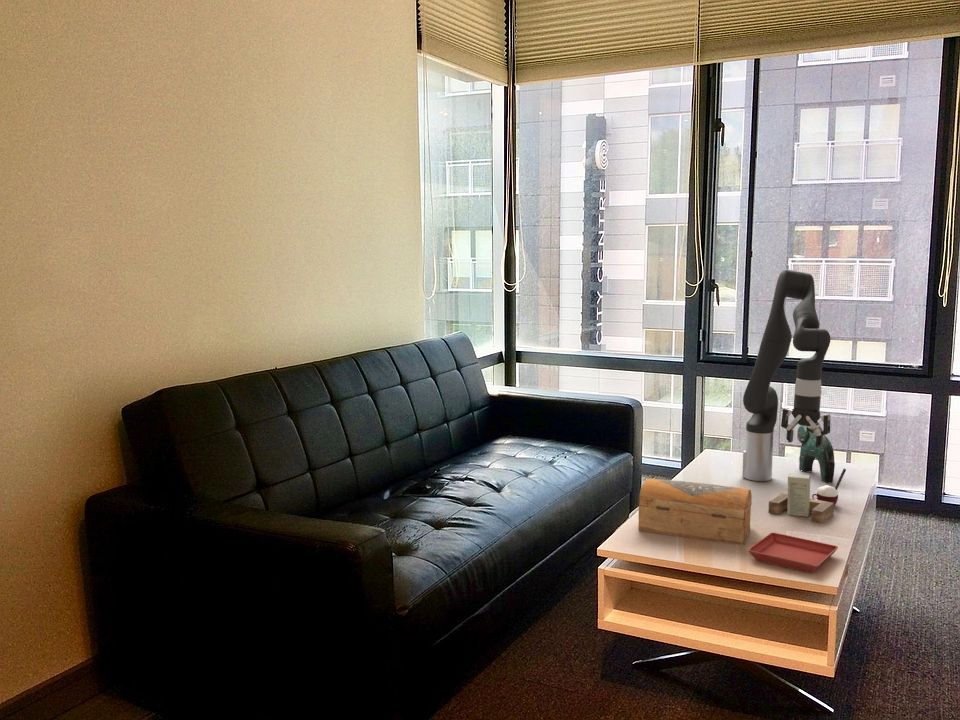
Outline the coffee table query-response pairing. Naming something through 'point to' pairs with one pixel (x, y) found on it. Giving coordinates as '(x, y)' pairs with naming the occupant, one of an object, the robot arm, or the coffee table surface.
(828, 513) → the wooden u-shaped block
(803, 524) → the coffee table surface
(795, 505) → the skincare box
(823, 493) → the cocoa
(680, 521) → the wooden box
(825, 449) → the ceramic cat
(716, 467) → the coffee table surface
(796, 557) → the plant saucer
